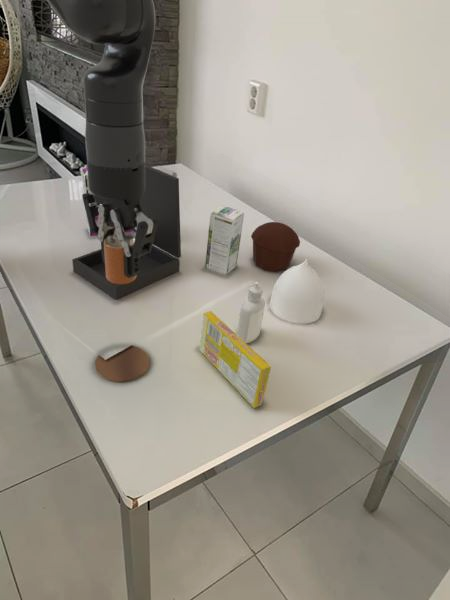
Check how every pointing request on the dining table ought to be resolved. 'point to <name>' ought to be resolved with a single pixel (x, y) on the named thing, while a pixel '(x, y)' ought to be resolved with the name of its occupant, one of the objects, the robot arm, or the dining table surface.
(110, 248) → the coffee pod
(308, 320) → the teardrop
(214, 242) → the syrup box
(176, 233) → the box lid
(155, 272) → the open lid tray box
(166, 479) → the dining table surface
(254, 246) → the muffin
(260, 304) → the eye dropper bottle
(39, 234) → the dining table surface
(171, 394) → the dining table surface
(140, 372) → the coaster
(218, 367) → the candy box
